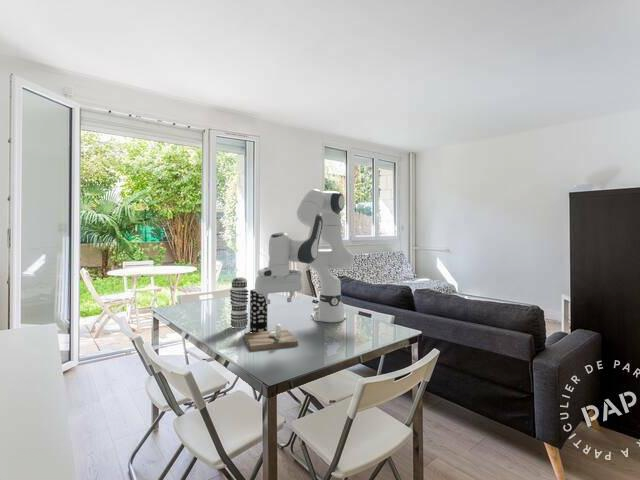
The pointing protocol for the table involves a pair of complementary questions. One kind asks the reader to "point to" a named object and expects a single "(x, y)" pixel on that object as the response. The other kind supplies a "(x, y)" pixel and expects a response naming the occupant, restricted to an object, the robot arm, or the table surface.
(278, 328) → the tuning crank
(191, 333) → the table surface
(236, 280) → the decorative candle
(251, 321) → the spotted tube
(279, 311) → the table surface
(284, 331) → the dial board
